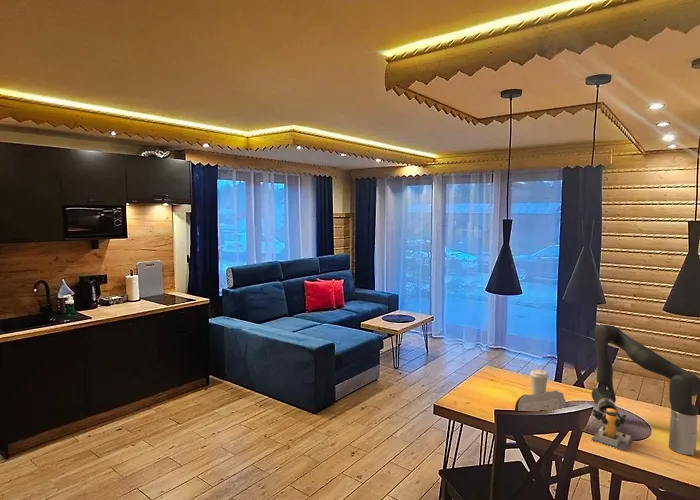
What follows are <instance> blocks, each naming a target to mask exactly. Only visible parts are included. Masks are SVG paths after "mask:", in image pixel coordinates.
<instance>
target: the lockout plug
mask: <svg viewBox="0 0 700 500" xmlns="http://www.w3.org/2000/svg"><path fill="white" fill-rule="evenodd" d="M617 411H618V409H617V410H615V409H612V408H607V409H606V419H607V425H605V424H604V425H605V427H604V428H605V436H606V437H608V438H615V434H616V431H617V426H616V418H617Z"/></svg>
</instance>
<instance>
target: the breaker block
mask: <svg viewBox="0 0 700 500" xmlns="http://www.w3.org/2000/svg"><path fill="white" fill-rule="evenodd" d="M592 440H593V441H592ZM591 441H592V442H595V441H596V442H595V443H598V442H599V443H598V444H601V443H602V444H601V445H604V444H605V445H604V446H607V445H608V446H607V447H610V446H611V448H613V447H614V448H613V449H616V448H617V449H616V450H619V449H620V450H619V451H622V450H623V451H622V452H626V451H627V449H628V448H629V446H630V445H631V443H632V442H633V439H632V438H631V435H630V434H627V433H623V432H620V431H617V430H616V434H615V438H608V437H606V436H605V427H604V426H601V427H600V428H599V429H598V431H597V432H596V433H595V434H594V435H593V436H592V437H591Z"/></svg>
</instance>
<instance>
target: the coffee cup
mask: <svg viewBox="0 0 700 500" xmlns="http://www.w3.org/2000/svg"><path fill="white" fill-rule="evenodd" d="M529 375H530V384H531V385H530V386H531V395H536V394H540V393H542V392H547V385H548V379H549V374H548V372H547V371H545V370H543V369H532V370H531V371H530V374H529Z"/></svg>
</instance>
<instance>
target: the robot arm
mask: <svg viewBox="0 0 700 500" xmlns="http://www.w3.org/2000/svg"><path fill="white" fill-rule="evenodd" d="M593 333H594V334H593V337H594V345H595V352H596V354H595V355H596V363H597V364H596V383H598V384H600V385H603V386H605V387H607V388H606V389H605V388H599V387H595V388H593V390H592V391H591V398H592V401H593V402H594V403H595V404H596V405H597V409H598V410H597V409H594V408H593V409H592V416H593V417H595V418H596V420H597V421H602V424H604V425H607V419H606V409H607V408H612V409H615V410H617V418H616V428H620V427H621V425H624V424H625V423H626V421H627V415H626V414H622V415H621V414H620V413H618V409H617V406H616V404H615V403H616V401H617V397H616V393H615V389H614V386H613V385H614V384H613V383H614V382H613V376H614V367H613V365H612V361H611V359H610V355H609V352H608V351H609V350H608V348H609V344H612V345H614V346H616V347H618V348H620V349H621V350H622V351H624V353H626V356H628V358H629V359H630V360H631V361H632V362H633V363H635V364H636V365H638V366H639V367H641V368H642V369H644V370H646V371H648V372H651V373H654V374H656V375H660V376H662V377H664V378H667V379H668V380H670V381H669V386H668V387H669V388H668V389H669V394H668V395H669V396H668V397H669V403H670V419H669V431H668V432H669V434H668V448H669V449H670V450H672V451H673V452H676V453H679V454H681V455H686V456H692V457H694V456H695V454H696V451H697V442H698V441H697V439H698V415H699V409H698V407H697V405H695V404H693V397H696V396H700V377H699V376H697V375H695V374H694V373H692V372H690V371H688V370H687V369H683V368H682V367H680V366H678V365H676V364H675V363H673V362H671V361H670V360H668V359H666V358H665V357H663V356H662V355H660V354H659V353H656V352H655V351H654V350H652V349H650V348H649V347H647V346H645V345H644V344H642V343H640V342H638V341H637V340H635V339H633V338H631V337H630V336H628V335H627V334H626V333H625V332H624V331H622V330H621V329H619V328H618V327H617V326H615V325H611V324H598V325H597V326H596V327H595V328H594V331H593Z"/></svg>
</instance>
